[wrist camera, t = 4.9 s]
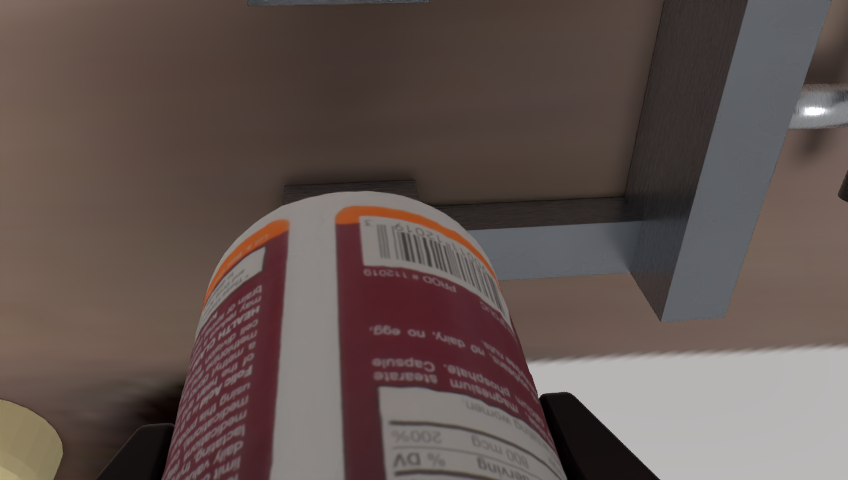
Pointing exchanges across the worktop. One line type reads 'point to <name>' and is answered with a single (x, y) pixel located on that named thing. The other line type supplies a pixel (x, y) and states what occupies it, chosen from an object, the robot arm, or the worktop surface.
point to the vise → (670, 160)
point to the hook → (27, 445)
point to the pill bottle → (358, 354)
